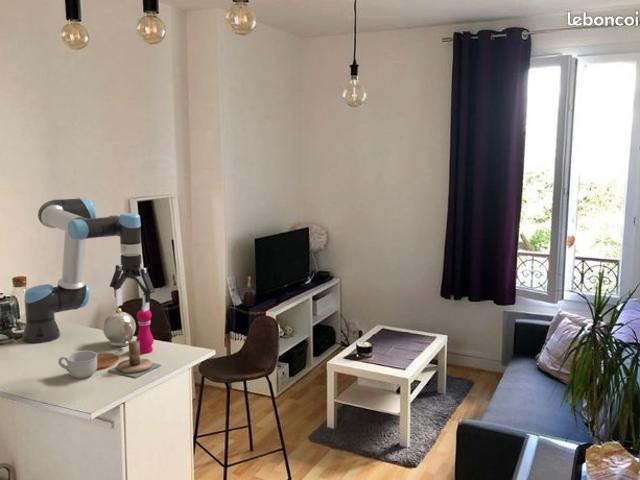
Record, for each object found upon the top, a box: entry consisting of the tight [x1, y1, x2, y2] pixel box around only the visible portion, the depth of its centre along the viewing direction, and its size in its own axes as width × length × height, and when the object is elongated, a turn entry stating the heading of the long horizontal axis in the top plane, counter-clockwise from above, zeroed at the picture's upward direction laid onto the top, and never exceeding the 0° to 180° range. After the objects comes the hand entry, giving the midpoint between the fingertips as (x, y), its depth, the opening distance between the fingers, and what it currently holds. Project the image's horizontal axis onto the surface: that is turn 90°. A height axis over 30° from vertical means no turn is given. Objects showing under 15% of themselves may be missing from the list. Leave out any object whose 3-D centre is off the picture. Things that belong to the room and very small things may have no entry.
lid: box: [116, 340, 153, 374], centre depth 230 cm, size 13×13×10 cm
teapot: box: [102, 307, 137, 348], centre depth 256 cm, size 18×14×16 cm
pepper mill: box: [135, 305, 154, 355], centre depth 249 cm, size 7×7×20 cm
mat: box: [107, 362, 162, 379], centre depth 231 cm, size 14×14×1 cm
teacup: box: [57, 350, 98, 379], centre depth 223 cm, size 14×11×8 cm
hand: (132, 308), depth 227 cm, fingers open, 13 cm apart
